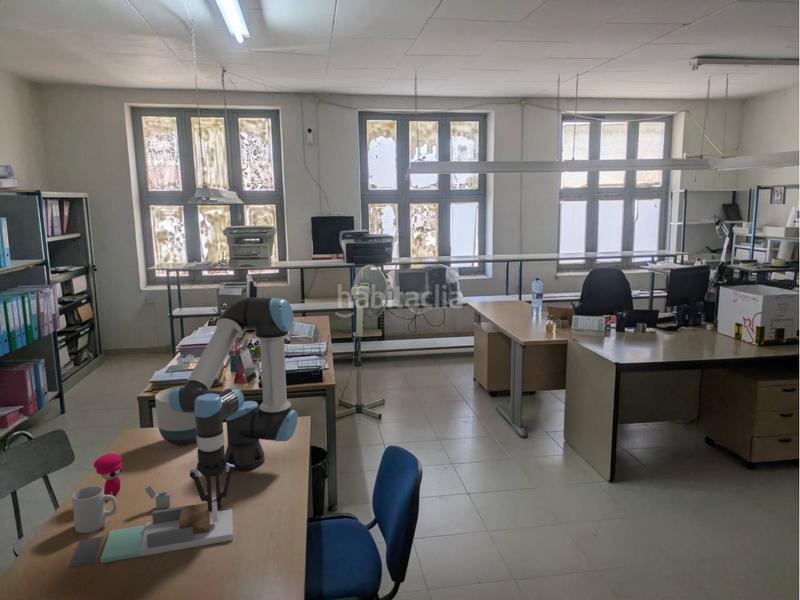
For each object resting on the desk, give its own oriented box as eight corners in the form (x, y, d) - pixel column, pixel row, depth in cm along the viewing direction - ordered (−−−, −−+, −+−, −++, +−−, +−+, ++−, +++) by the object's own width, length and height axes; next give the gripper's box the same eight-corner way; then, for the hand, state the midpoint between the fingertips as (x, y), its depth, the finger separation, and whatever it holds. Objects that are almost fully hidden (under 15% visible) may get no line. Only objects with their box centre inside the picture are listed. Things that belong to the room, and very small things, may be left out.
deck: (232, 514, 174) (231, 499, 173) (233, 540, 161) (232, 523, 160) (147, 528, 166) (145, 512, 165) (140, 556, 153) (138, 538, 152)
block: (210, 517, 169) (209, 502, 168) (209, 532, 161) (208, 516, 160) (182, 521, 167) (181, 506, 166) (180, 536, 159) (179, 520, 158)
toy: (113, 504, 180) (109, 462, 177) (91, 501, 181) (87, 459, 179) (130, 491, 188) (127, 450, 185) (109, 489, 190) (105, 448, 187)
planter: (151, 441, 228) (147, 392, 225) (199, 428, 242) (196, 382, 238) (169, 457, 213) (165, 405, 210) (219, 442, 227) (216, 393, 223)
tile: (147, 528, 166) (146, 524, 166) (140, 556, 153) (140, 552, 153) (110, 534, 163) (110, 530, 163) (100, 563, 150) (100, 558, 150)
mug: (71, 535, 163) (67, 501, 161) (80, 519, 171) (76, 487, 169) (114, 529, 166) (111, 496, 164) (121, 514, 174) (118, 482, 172)
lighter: (170, 504, 180) (168, 481, 179) (169, 507, 178) (168, 484, 177) (147, 507, 178) (145, 484, 177) (146, 510, 176) (144, 487, 175)
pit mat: (103, 539, 162) (102, 536, 162) (93, 566, 150) (93, 563, 150) (80, 543, 161) (80, 540, 160) (68, 570, 148) (68, 567, 148)
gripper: (233, 438, 167) (237, 509, 171) (188, 444, 163) (193, 516, 167) (233, 448, 160) (238, 522, 164) (186, 454, 156) (192, 530, 160)
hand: (215, 519), depth 165 cm, fingers closed
